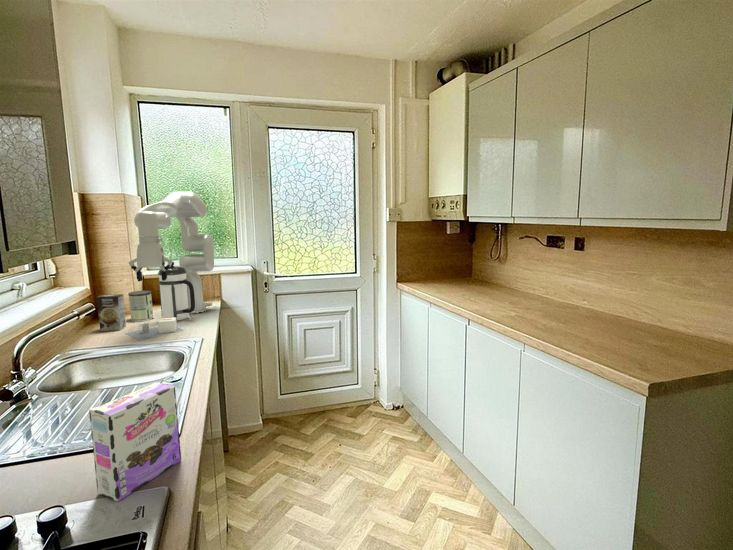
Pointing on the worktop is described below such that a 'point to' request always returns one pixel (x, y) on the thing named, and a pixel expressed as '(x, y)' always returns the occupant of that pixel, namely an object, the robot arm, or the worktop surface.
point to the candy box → (134, 439)
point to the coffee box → (111, 312)
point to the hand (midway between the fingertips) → (152, 280)
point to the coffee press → (176, 294)
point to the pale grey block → (144, 328)
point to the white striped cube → (167, 325)
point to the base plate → (150, 333)
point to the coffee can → (140, 305)
